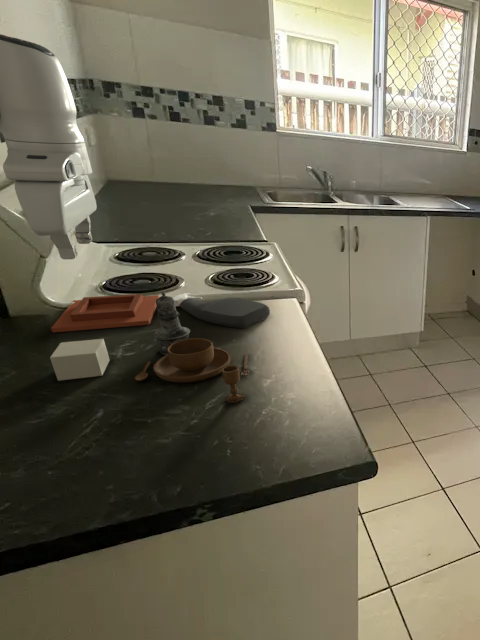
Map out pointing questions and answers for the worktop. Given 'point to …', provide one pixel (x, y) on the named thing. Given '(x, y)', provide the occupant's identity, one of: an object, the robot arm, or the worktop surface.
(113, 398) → the worktop surface
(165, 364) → the place setting
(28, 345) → the worktop surface
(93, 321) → the base pad
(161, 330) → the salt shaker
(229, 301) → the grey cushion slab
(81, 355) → the beige block
